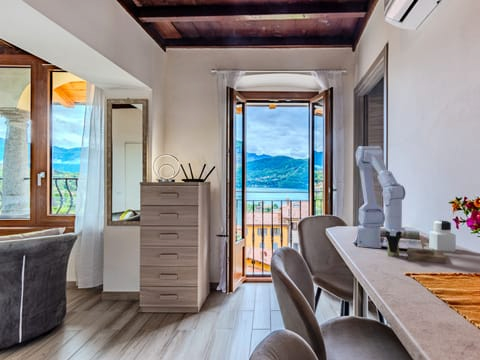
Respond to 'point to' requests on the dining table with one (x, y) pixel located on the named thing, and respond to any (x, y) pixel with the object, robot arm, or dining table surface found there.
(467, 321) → the dining table surface
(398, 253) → the brass peg
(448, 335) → the dining table surface
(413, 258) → the square tan frame
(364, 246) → the robot arm
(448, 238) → the medicine bottle
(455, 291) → the dining table surface
